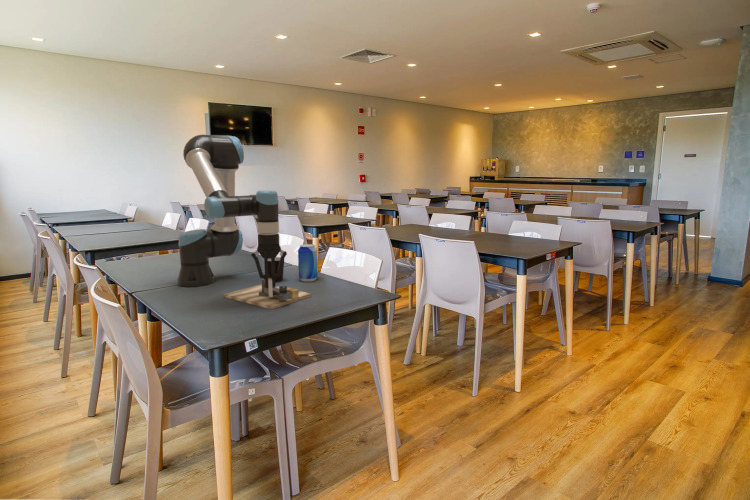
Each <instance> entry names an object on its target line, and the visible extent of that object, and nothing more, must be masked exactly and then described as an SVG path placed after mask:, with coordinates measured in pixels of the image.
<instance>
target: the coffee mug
mask: <svg viewBox="0 0 750 500" xmlns="http://www.w3.org/2000/svg"><path fill="white" fill-rule="evenodd" d="M280 257H281V256H276V258H275V274H277V271H278V266H279V262H280ZM284 268H285V260H284V261H283V266H282V270H281V275H280V277H279V278H276V279H275V283H281V282H283V281H284ZM268 278H272V267H271V259H270V258H269V259H268Z"/></svg>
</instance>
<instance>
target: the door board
mask: <svg viewBox="0 0 750 500" xmlns="http://www.w3.org/2000/svg"><path fill="white" fill-rule="evenodd" d="M264 287H265V279H263V278H262V280H261V284H256V285H252V286H248V287H246V288H242V289H239V290H234V291H231V292H227V293H224V294H223V297H224V298H226V299H229V300H234V301H238V302H241V303H245V304H250V305H253V306H257V307H260V308H265V309H269V310H274V309H275V310H276V309H278V308H280V307H284V306H288V305H289V304H293V303H296V302H299V301H302V300H304V299H308V298H310V297H312V293H310V292H305V291H301V290H299V289H298V288H293V287H287V292H290V293H291V299H288V300H281V299H278V298H276V297H269V295H267V294H265V293H264ZM275 287H276V288H279V287H280V286H275Z"/></svg>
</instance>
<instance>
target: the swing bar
mask: <svg viewBox="0 0 750 500" xmlns="http://www.w3.org/2000/svg"><path fill="white" fill-rule="evenodd" d="M278 287H279V288H276V287H275V288H272V290H273V297H276V298H278V299H281V300H288V299H291V293H290V292H287V288H288V286H287V285H281V286H280V285H279V286H278ZM264 293H265V294H267V295H269V288H266V287H264Z"/></svg>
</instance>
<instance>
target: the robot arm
mask: <svg viewBox="0 0 750 500" xmlns="http://www.w3.org/2000/svg"><path fill="white" fill-rule="evenodd" d="M184 145H185V146H184V148H183V159H184V162H185V164H186V166H187V167H189V168H190V169H191V170H192V172H193V174H194V176H195V178H196V181H197V182H198V184H199V186H200V187H201V189H202V192H203V194H204V195H205V197H206V198H205V199H204V205H203V207H204V211H205V214H206V216H207V218H209V219H210V218H211V219H214V224H213V225H211V228H210V231H207V229H202V228H199V229H193V230H192V229H191V230H188V231H185V232H182V233H180V234H179V236H178V248H179V249H178V251H179V260H180V261H179V262H180V269H179V274H178V276H177V284H178V286H179V287H184V288H185V287H188V288H191V287H193V288H194V287H201V286H208V285H210V284H213V283H214V282H215V275H214V273H213V270H212V268H211V266H210V260H209V259H212V258H220V257H230V256H234V255H238V254H239V253H240V252H241V251H242V249H243V243H244V237H243V233H242V231H241V230H240V229H239V226H237V224H236V223H235V222H236V221H235V218H237V217H248V216H249V217H250V216H256V217H257V219H256V220H257V222H256V224H257V226H256V227H257V233H258V234H257V245H258V246H257V248H256V250H255V251H252V252H251V257H252V258H253V260H254V263H255V266H256V269H257V273H258V275H259V278H260V279H262V280H263V279H265V287H266V288H269V297H273V290H272V288H275V286H276V285H277V284H276V282H275V279H276V278H279V277H280V275H281V270H282V266H283V261H284V262H285V257H286V256H287V255H288V253H287V251H286V250H283V249H282V247H281V245H280V234H279V232H280V221H279V196H278V192H277V191H276V190H258V191H256V194H249V195H236V171H238V170H239V167H240V166H239V165H241V164H243V162H244V160H245V152H244V147H243V144H242V142H241V140H240V139H239V138H238V136H237V137H236V136H234V135H233V136H232V135H228V134H226V135H225V134H197V135H195V136H193V137H192V138H190V139H189V140H188V141H187V142H186V144H184ZM259 255H260V256H261V258H263V262H264V264H263V265H264V273H263V271H262V266H261V263H260V261H259ZM278 255H279V257H280V262H279V266H278V271H277V274H275V258H276V257H278ZM269 258H270V259H271V267H272V278H268V259H269Z"/></svg>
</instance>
